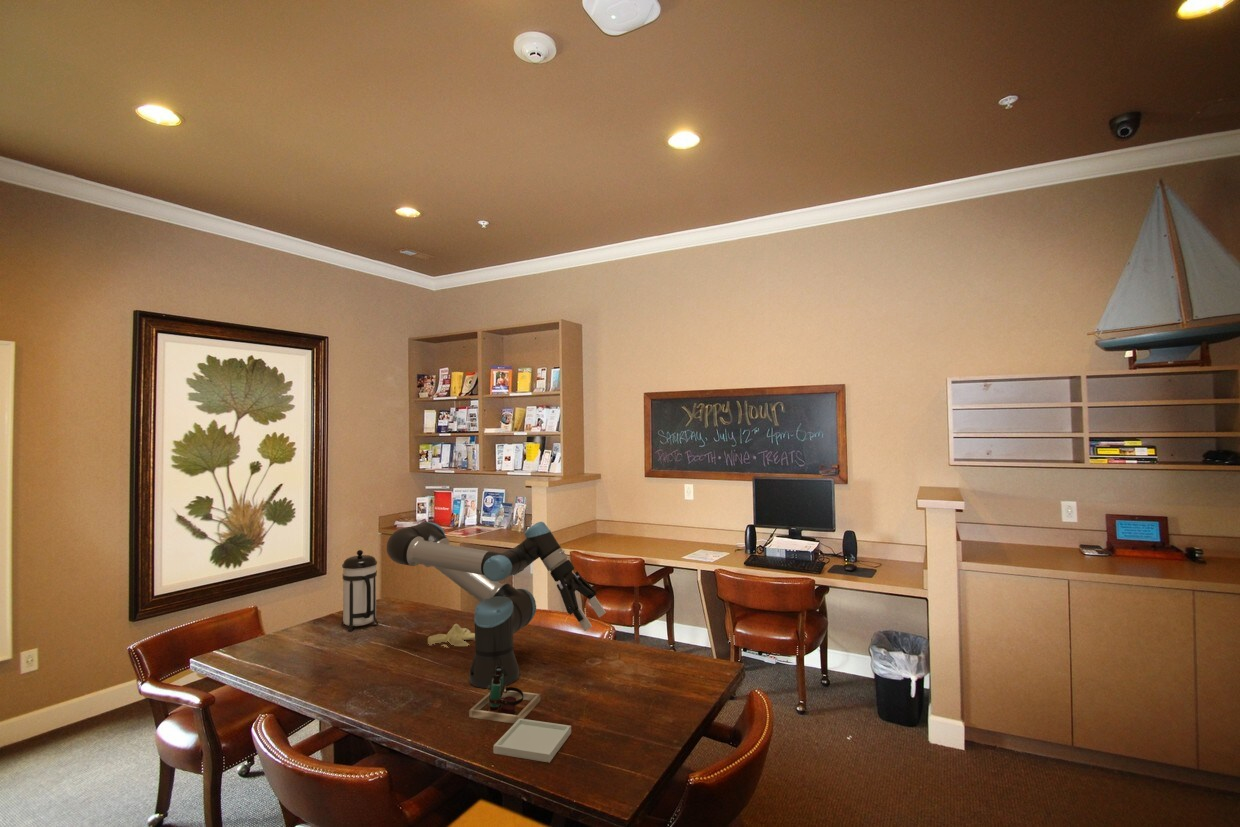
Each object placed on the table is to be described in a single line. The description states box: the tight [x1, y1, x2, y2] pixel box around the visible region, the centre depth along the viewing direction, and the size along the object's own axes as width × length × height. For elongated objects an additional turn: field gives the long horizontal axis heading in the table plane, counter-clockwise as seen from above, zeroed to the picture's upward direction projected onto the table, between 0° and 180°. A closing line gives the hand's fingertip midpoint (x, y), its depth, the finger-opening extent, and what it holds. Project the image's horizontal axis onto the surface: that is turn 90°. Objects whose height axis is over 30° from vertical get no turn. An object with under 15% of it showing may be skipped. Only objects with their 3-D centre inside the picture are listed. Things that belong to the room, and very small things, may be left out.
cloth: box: [427, 623, 475, 648], centre depth 211 cm, size 22×19×6 cm
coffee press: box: [340, 549, 379, 632], centre depth 228 cm, size 17×16×30 cm
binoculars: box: [487, 666, 524, 715], centre depth 157 cm, size 9×11×10 cm
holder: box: [468, 689, 542, 725], centre depth 157 cm, size 15×14×2 cm
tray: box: [493, 718, 572, 763], centre depth 139 cm, size 14×13×2 cm
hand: (595, 621), depth 182 cm, fingers open, 13 cm apart
